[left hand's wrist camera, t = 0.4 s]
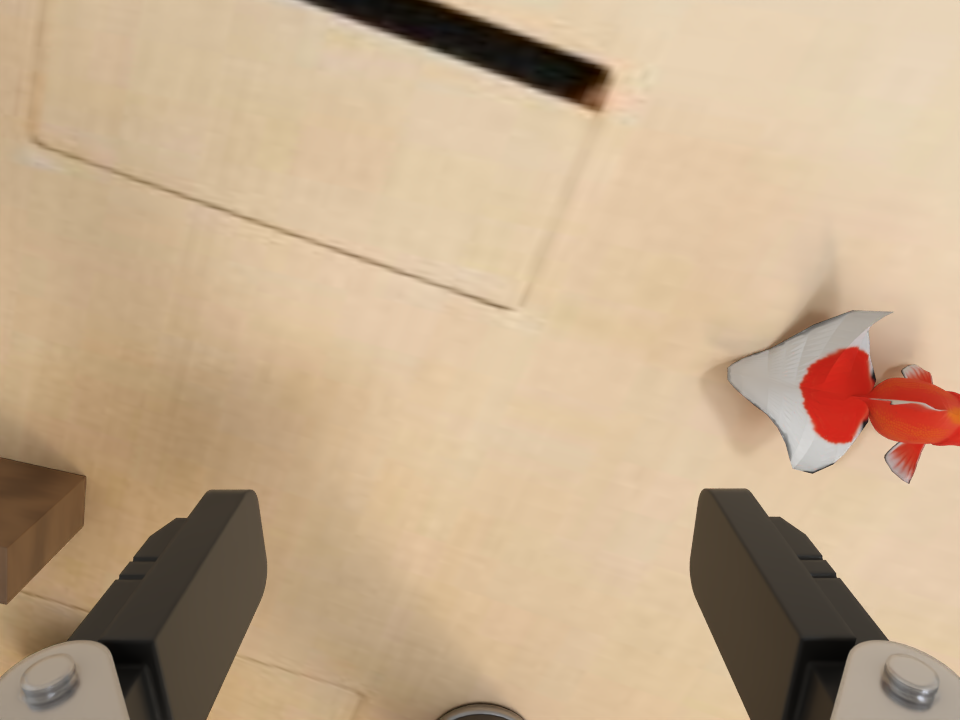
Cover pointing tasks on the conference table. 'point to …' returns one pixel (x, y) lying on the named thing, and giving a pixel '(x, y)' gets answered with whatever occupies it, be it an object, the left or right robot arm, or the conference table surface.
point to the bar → (35, 520)
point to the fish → (845, 396)
